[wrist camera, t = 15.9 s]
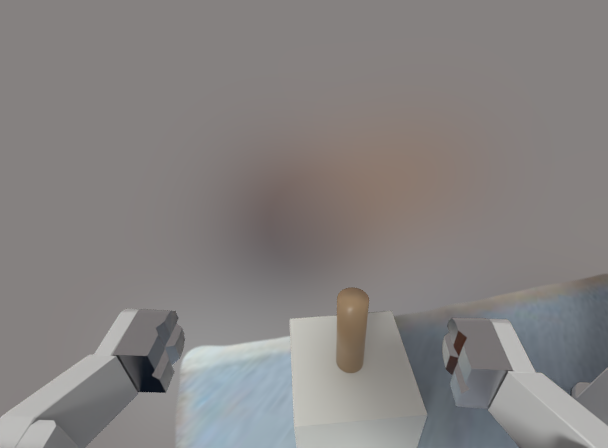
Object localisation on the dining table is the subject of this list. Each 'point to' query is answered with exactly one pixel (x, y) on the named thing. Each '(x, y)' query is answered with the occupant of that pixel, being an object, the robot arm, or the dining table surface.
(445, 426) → the dining table surface
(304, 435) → the white handled block
